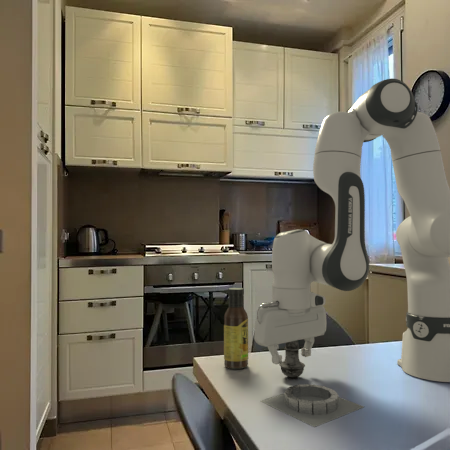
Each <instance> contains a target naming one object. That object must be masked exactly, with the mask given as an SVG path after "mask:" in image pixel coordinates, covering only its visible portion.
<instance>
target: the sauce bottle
mask: <svg viewBox="0 0 450 450" xmlns="http://www.w3.org/2000/svg"><path fill="white" fill-rule="evenodd" d="M244 294H245V291H244V288H243V287H229V288H228V289H227V295H228V307H227V309H226V310H225V313H224V318H223V319H224V320H223V321H224V322H223V323H224V324H223V359H224V361H223V362H224V366H225V368H227V369H233V370H234V369H235V370H239V369H244V368H246V367H247V366H248V365H249V317H248V313H247V311H246V309H245V307H244Z"/></svg>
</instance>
